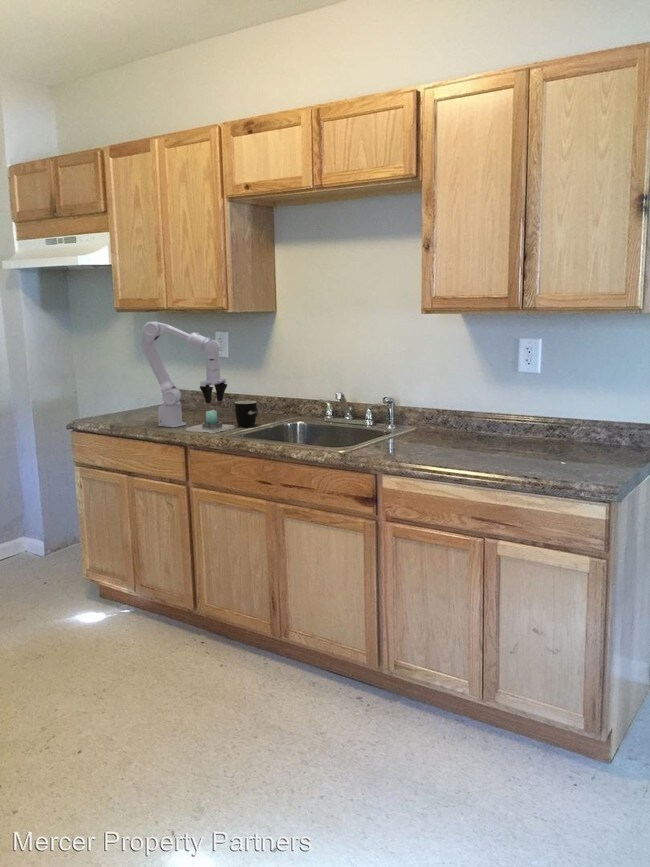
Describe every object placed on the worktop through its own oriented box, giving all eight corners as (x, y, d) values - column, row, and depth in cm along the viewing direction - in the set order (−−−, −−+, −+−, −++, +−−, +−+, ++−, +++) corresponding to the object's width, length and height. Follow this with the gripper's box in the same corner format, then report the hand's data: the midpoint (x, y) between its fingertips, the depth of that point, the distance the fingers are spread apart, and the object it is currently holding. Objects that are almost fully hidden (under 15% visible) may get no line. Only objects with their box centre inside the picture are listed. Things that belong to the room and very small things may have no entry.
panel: (186, 430, 291) (185, 424, 291) (208, 425, 303) (208, 419, 303) (213, 433, 284) (213, 426, 284) (234, 428, 296) (234, 421, 296)
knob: (211, 427, 291) (211, 411, 290) (203, 426, 294) (203, 410, 293) (219, 425, 295) (219, 410, 294) (211, 424, 297) (211, 409, 296)
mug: (248, 428, 295) (247, 404, 293) (231, 426, 300) (230, 402, 298) (265, 424, 305) (265, 400, 303) (248, 422, 310) (247, 399, 308)
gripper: (209, 371, 291) (210, 404, 294) (231, 368, 304) (232, 400, 306) (195, 370, 295) (197, 403, 297) (218, 367, 307) (219, 399, 310)
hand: (214, 402), depth 302 cm, fingers open, 7 cm apart
